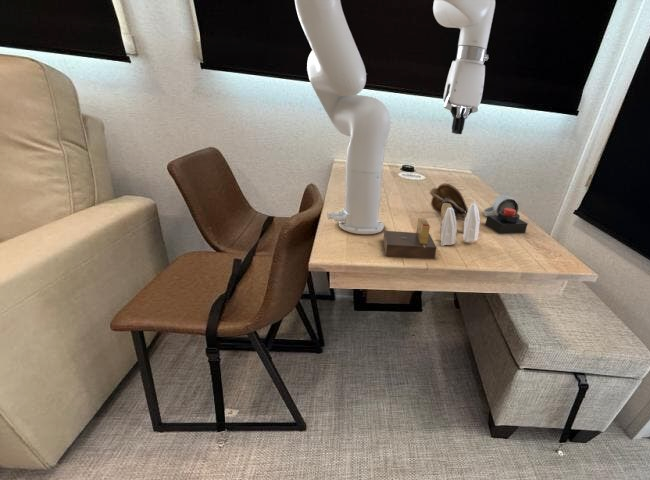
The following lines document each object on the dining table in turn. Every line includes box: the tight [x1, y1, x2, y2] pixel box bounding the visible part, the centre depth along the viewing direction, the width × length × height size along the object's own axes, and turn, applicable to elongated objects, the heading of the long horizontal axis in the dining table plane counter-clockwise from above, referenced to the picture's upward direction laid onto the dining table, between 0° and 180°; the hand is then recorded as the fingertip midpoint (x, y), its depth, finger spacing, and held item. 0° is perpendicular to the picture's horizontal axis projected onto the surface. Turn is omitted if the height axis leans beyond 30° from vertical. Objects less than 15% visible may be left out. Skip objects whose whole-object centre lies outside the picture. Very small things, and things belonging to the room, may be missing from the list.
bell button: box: [503, 208, 516, 216], centre depth 103 cm, size 4×4×2 cm
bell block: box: [484, 211, 529, 235], centre depth 105 cm, size 10×8×5 cm
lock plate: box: [382, 230, 441, 260], centre depth 82 cm, size 14×10×3 cm
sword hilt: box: [429, 182, 469, 233], centre depth 101 cm, size 10×24×15 cm
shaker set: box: [440, 202, 481, 247], centre depth 88 cm, size 12×4×11 cm, turn 107°
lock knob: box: [415, 217, 431, 244], centre depth 80 cm, size 6×2×5 cm, turn 6°
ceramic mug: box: [483, 194, 520, 217], centre depth 115 cm, size 11×8×8 cm
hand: (456, 133), depth 97 cm, fingers closed
